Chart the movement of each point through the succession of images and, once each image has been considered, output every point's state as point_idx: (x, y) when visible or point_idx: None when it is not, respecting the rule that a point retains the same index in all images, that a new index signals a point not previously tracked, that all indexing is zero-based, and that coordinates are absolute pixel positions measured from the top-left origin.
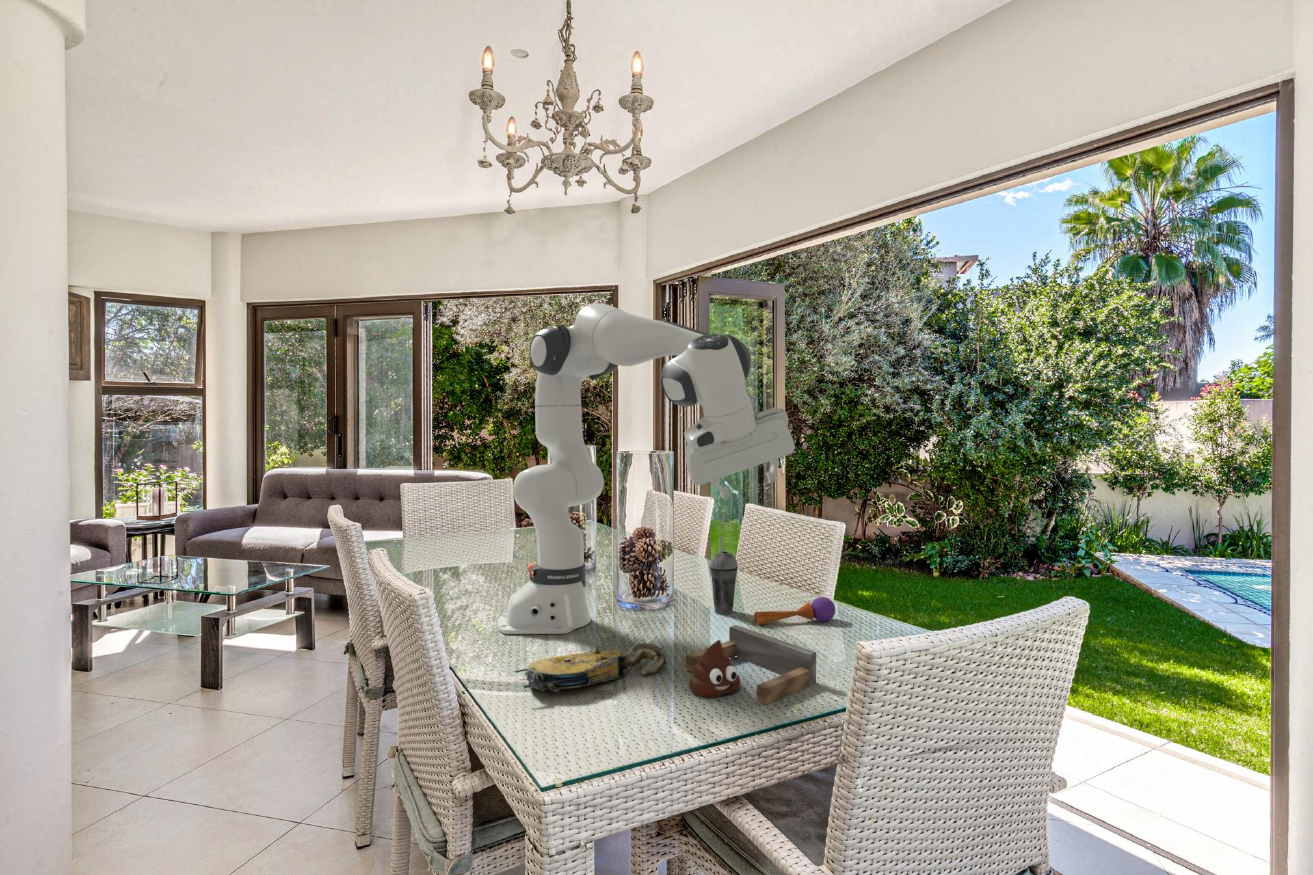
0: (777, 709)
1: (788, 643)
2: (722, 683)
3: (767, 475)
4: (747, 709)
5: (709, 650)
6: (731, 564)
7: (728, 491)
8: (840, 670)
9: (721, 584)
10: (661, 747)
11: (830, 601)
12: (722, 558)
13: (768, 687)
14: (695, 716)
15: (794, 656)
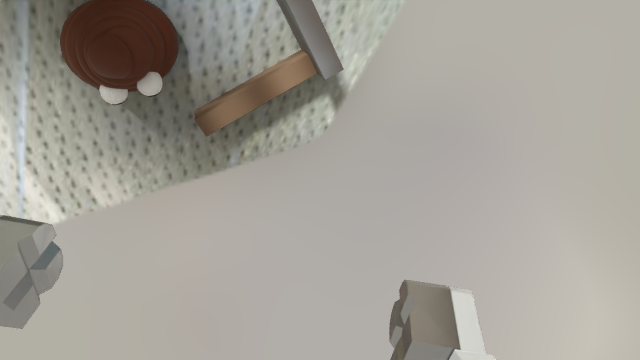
0: (221, 143)
1: (310, 5)
2: (129, 91)
3: (403, 341)
4: (170, 136)
5: (94, 67)
6: None
7: (30, 309)
8: (396, 11)
9: None
10: None
11: None
12: None
13: (213, 132)
14: (69, 148)
15: (304, 42)
